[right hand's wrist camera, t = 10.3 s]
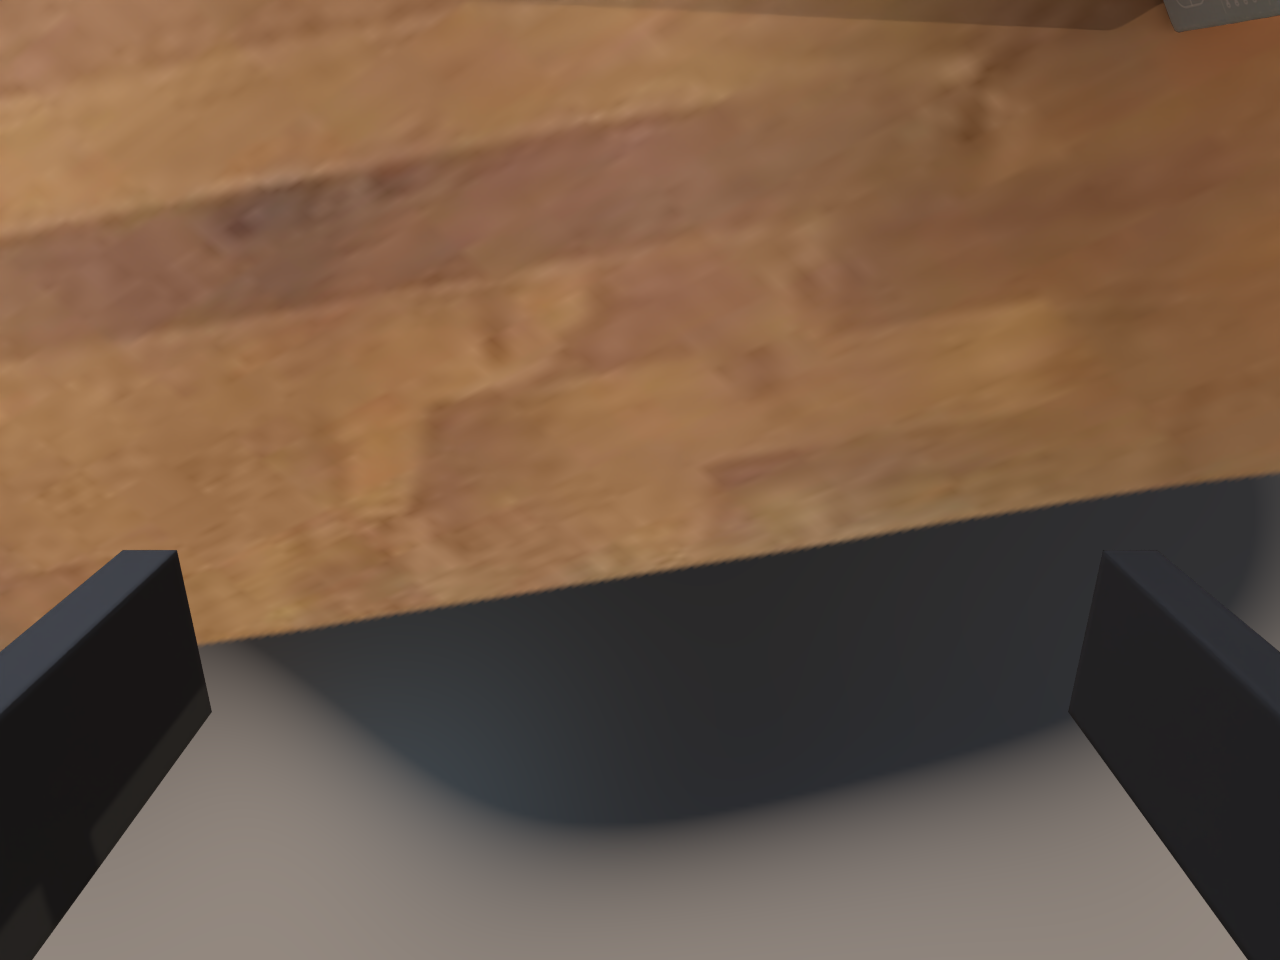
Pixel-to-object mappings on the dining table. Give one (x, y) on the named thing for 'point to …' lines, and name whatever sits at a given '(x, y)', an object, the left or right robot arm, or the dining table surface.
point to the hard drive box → (1217, 12)
